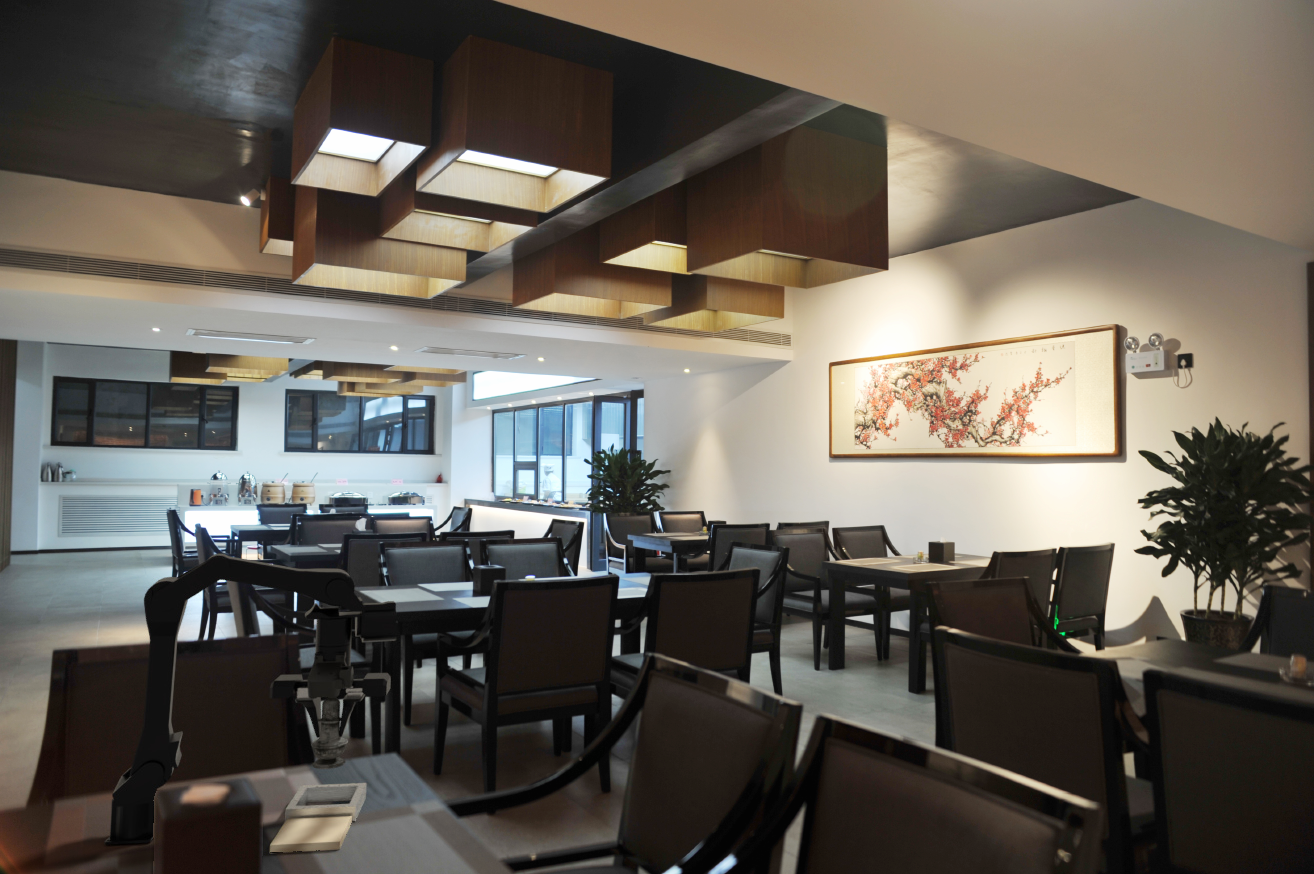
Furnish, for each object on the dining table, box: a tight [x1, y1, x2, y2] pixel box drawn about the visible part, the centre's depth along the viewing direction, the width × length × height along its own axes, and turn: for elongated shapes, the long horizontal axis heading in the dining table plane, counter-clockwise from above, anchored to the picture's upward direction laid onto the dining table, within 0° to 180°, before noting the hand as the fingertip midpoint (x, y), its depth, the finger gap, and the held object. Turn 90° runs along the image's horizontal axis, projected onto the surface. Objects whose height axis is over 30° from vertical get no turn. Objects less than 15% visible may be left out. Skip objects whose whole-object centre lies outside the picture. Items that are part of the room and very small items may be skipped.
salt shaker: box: [310, 697, 349, 770], centre depth 145 cm, size 6×6×12 cm
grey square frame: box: [284, 782, 368, 822], centre depth 144 cm, size 11×11×2 cm
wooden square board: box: [269, 816, 353, 853], centre depth 133 cm, size 10×10×1 cm
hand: (329, 736), depth 145 cm, fingers closed on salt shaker, 3 cm apart
